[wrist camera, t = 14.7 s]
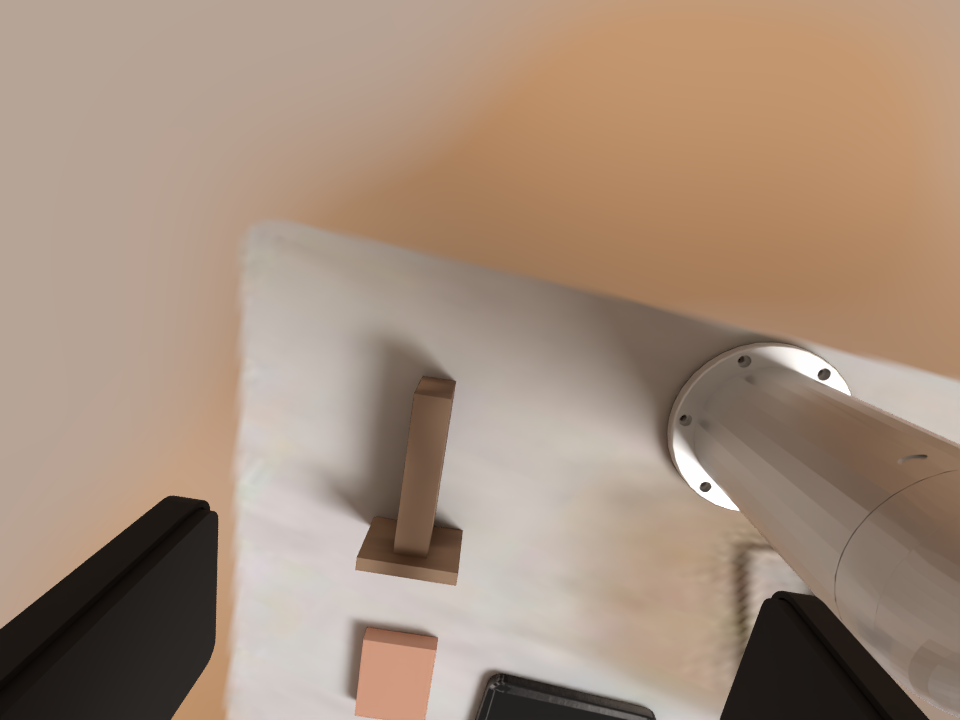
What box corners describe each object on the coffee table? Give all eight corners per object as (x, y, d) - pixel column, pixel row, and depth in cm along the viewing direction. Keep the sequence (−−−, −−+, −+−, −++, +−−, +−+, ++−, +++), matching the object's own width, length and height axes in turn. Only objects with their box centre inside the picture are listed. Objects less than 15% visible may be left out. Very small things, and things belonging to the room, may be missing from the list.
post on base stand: (487, 386, 35) (486, 410, 30) (460, 541, 38) (455, 585, 33) (391, 370, 35) (374, 392, 30) (373, 527, 38) (355, 569, 33)
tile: (436, 650, 39) (424, 725, 41) (438, 633, 41) (426, 706, 43) (363, 639, 39) (354, 715, 41) (368, 623, 41) (360, 696, 43)
